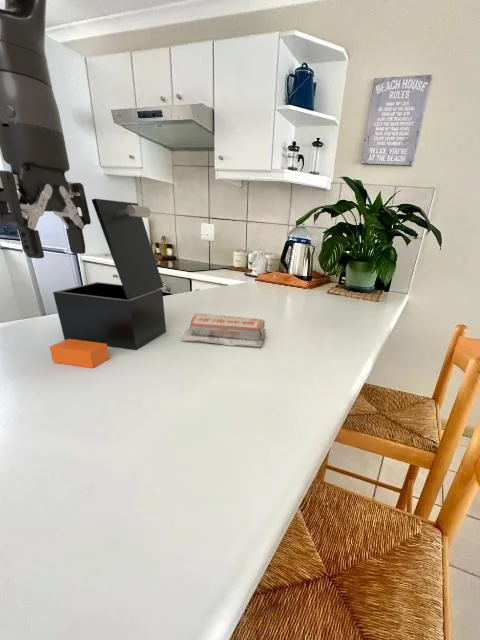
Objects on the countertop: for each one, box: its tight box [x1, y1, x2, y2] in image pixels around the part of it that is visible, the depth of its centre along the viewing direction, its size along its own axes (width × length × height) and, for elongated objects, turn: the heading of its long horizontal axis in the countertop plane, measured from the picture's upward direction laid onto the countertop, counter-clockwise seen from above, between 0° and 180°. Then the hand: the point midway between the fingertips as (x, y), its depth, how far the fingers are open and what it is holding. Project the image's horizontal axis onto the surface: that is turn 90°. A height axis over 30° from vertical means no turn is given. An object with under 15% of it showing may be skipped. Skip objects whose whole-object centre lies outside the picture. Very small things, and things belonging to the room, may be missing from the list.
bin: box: [52, 281, 167, 351], centre depth 69 cm, size 16×13×10 cm
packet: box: [49, 339, 110, 369], centre depth 58 cm, size 8×4×3 cm, turn 82°
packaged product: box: [180, 313, 267, 348], centre depth 74 cm, size 18×5×10 cm
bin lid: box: [91, 198, 164, 299], centre depth 62 cm, size 16×13×5 cm
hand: (58, 255), depth 50 cm, fingers open, 8 cm apart
